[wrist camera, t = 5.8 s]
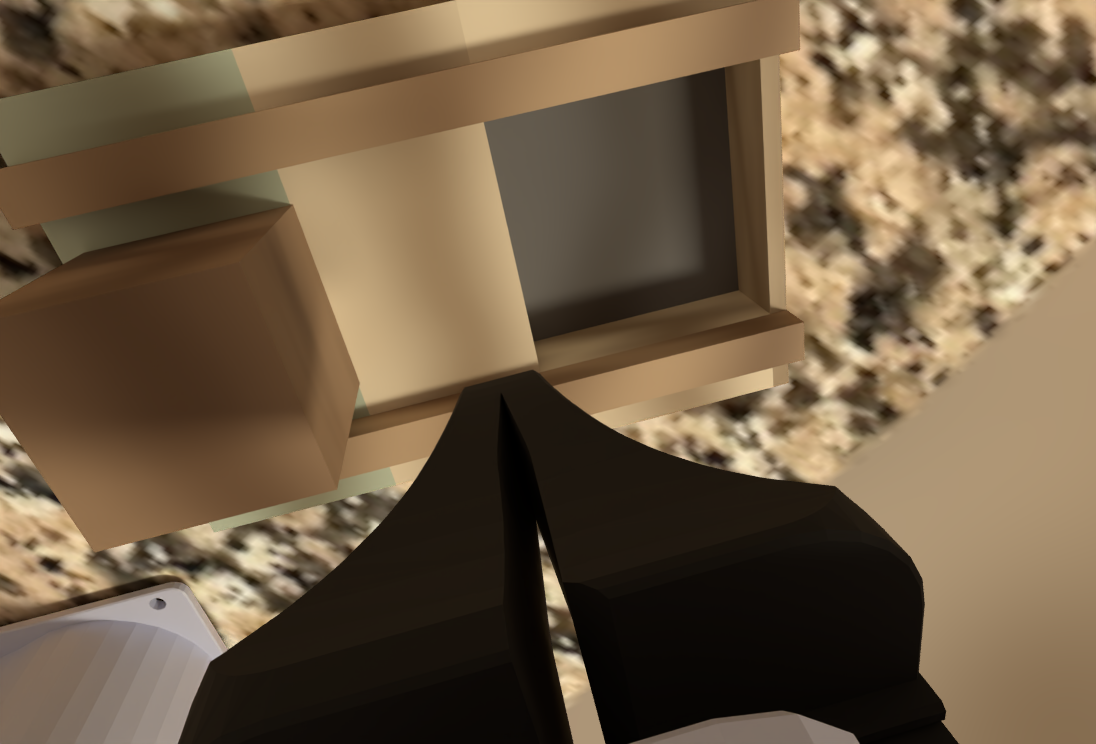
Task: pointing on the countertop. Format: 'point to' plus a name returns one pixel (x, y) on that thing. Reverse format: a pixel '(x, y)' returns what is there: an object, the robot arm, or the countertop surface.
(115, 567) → the countertop surface
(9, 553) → the countertop surface
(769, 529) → the robot arm
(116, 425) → the walnut block
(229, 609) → the countertop surface
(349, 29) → the wooden tray
